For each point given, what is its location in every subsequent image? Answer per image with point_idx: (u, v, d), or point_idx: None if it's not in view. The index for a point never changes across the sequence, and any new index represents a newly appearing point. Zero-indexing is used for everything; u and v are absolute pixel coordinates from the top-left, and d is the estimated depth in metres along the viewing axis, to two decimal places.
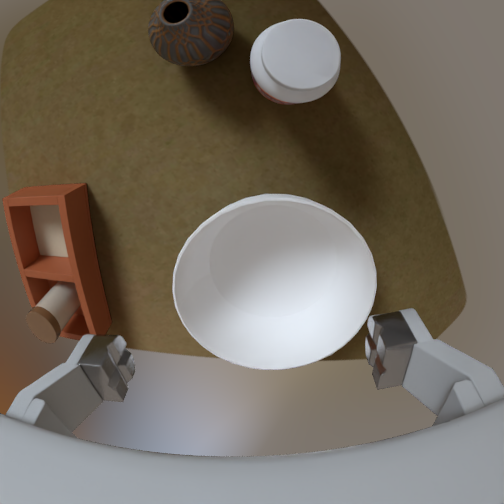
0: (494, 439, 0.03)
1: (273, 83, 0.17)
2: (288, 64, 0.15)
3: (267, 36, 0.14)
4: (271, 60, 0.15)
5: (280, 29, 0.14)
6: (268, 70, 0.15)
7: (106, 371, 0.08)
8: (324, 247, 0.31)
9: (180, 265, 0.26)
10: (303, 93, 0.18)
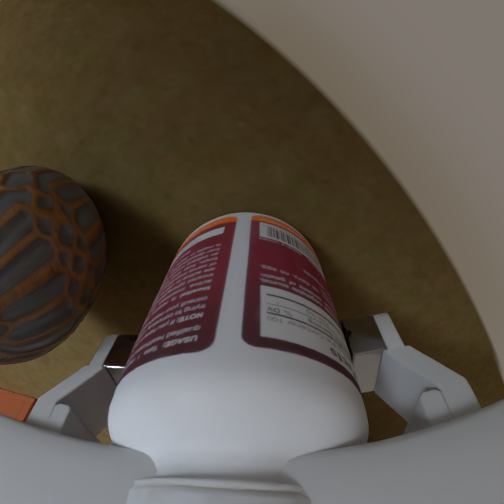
0: (494, 438, 0.03)
1: None
2: None
3: None
4: None
5: None
6: None
7: None
8: None
9: None
10: None
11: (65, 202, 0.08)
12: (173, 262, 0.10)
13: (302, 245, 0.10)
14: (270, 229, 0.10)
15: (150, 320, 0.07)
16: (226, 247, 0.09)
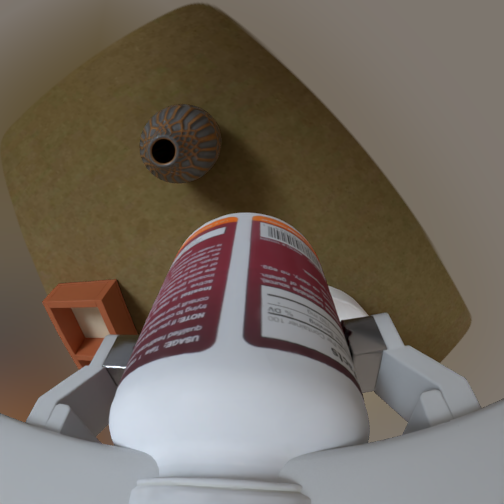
0: (494, 438, 0.03)
1: None
2: None
3: None
4: None
5: None
6: None
7: None
8: None
9: None
10: None
11: (213, 119, 0.24)
12: (174, 262, 0.10)
13: (303, 245, 0.10)
14: (271, 229, 0.10)
15: (151, 320, 0.07)
16: (227, 247, 0.09)
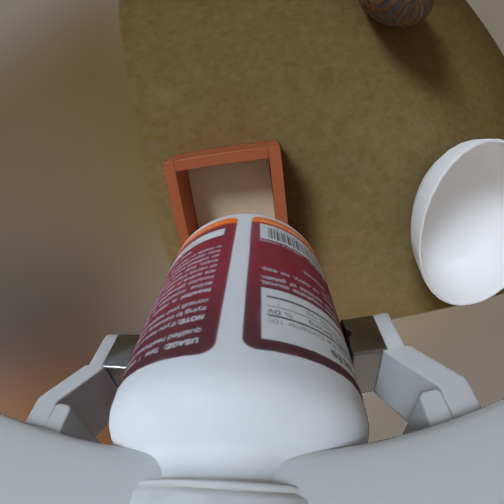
0: (494, 438, 0.03)
1: None
2: None
3: None
4: None
5: None
6: None
7: None
8: (490, 188, 0.28)
9: (427, 206, 0.23)
10: None
11: None
12: (174, 263, 0.10)
13: (302, 246, 0.10)
14: (270, 230, 0.10)
15: (151, 322, 0.07)
16: (227, 249, 0.09)
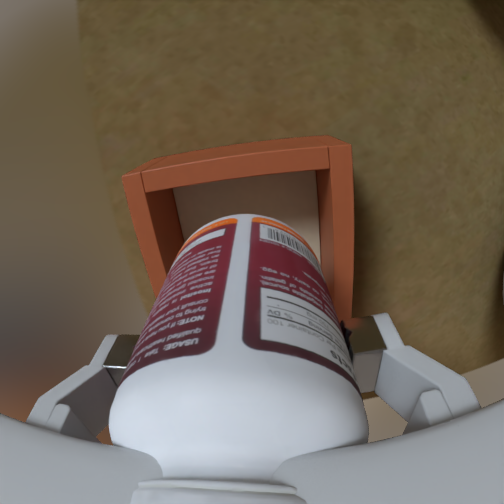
0: (494, 438, 0.03)
1: None
2: None
3: None
4: None
5: None
6: None
7: None
8: None
9: None
10: None
11: None
12: (173, 264, 0.10)
13: (302, 247, 0.10)
14: (270, 231, 0.10)
15: (151, 322, 0.07)
16: (226, 249, 0.09)
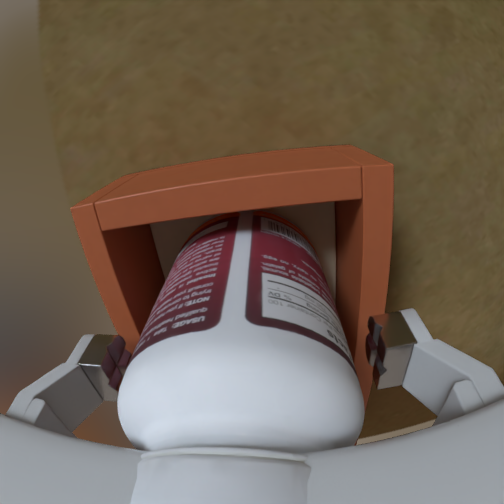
0: (493, 438, 0.03)
1: None
2: None
3: None
4: None
5: None
6: None
7: (106, 371, 0.08)
8: None
9: None
10: None
11: None
12: (179, 255, 0.11)
13: (301, 239, 0.11)
14: (271, 223, 0.11)
15: (159, 306, 0.08)
16: (229, 239, 0.09)
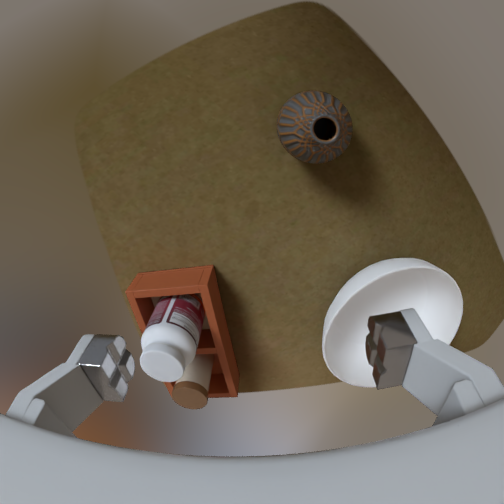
0: (493, 438, 0.03)
1: None
2: (157, 372, 0.29)
3: (140, 361, 0.28)
4: (148, 371, 0.29)
5: (144, 357, 0.28)
6: (149, 375, 0.29)
7: (106, 371, 0.08)
8: (417, 284, 0.36)
9: (329, 326, 0.32)
10: None
11: None
12: (157, 303, 0.36)
13: (192, 299, 0.36)
14: (183, 294, 0.35)
15: (151, 318, 0.32)
16: (169, 301, 0.34)
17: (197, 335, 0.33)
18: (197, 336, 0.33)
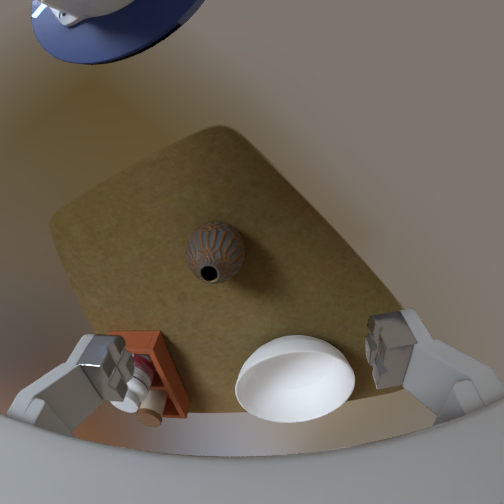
0: (494, 438, 0.03)
1: None
2: (121, 406, 0.40)
3: None
4: (115, 405, 0.40)
5: None
6: (117, 407, 0.40)
7: (106, 371, 0.08)
8: None
9: (238, 383, 0.42)
10: None
11: (239, 235, 0.36)
12: None
13: (146, 354, 0.46)
14: None
15: None
16: None
17: (148, 381, 0.43)
18: (148, 382, 0.43)
